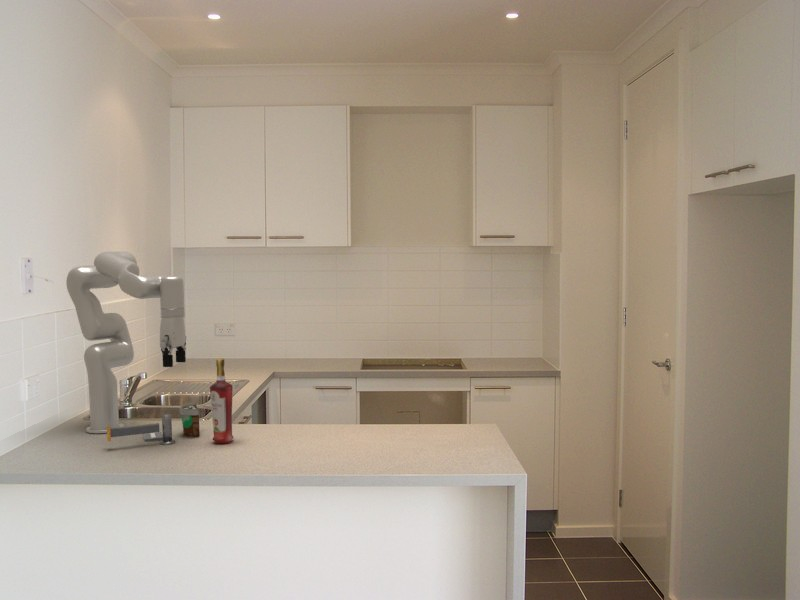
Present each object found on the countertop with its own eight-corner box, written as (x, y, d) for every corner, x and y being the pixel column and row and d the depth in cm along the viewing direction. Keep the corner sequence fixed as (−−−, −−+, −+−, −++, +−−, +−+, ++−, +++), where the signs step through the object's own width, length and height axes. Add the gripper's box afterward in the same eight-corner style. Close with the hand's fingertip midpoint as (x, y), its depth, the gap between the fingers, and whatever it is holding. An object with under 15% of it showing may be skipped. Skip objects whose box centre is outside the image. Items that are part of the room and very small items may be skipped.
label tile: (143, 436, 243) (142, 433, 243) (161, 434, 245) (161, 431, 245) (144, 441, 235) (144, 438, 235) (163, 439, 238) (163, 436, 238)
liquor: (207, 443, 232) (203, 360, 230) (222, 438, 238) (219, 357, 236) (224, 446, 228) (220, 361, 226) (239, 440, 235) (236, 358, 233)
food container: (179, 431, 249) (178, 403, 248) (197, 429, 251) (196, 402, 250) (181, 439, 237) (180, 410, 237) (200, 437, 239) (198, 409, 239)
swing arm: (158, 432, 234) (158, 419, 234) (159, 435, 230) (159, 422, 230) (107, 438, 228) (106, 425, 228) (107, 441, 224) (106, 428, 224)
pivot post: (159, 441, 235) (158, 414, 234) (174, 440, 237) (173, 412, 236) (160, 445, 230) (159, 417, 230) (176, 443, 232) (175, 415, 232)
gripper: (173, 311, 240) (175, 360, 241) (149, 315, 223) (151, 368, 224) (194, 311, 239) (195, 360, 241) (171, 315, 222) (173, 368, 223)
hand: (174, 364), depth 232 cm, fingers open, 9 cm apart
